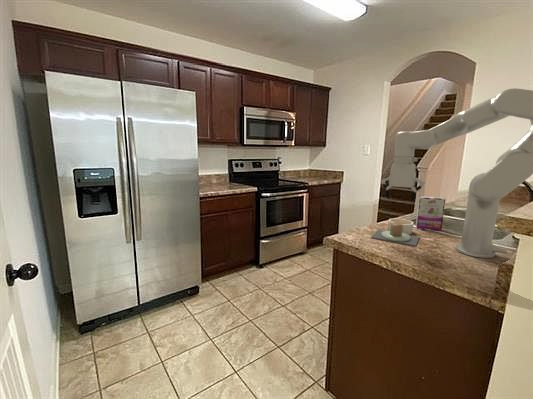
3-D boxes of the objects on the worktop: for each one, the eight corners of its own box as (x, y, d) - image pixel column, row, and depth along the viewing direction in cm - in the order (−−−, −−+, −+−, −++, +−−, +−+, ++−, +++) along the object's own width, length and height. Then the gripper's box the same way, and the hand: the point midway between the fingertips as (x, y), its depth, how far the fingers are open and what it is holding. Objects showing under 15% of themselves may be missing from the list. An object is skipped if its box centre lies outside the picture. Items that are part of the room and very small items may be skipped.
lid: (411, 236, 123) (413, 223, 122) (408, 243, 114) (409, 230, 113) (384, 231, 130) (385, 219, 129) (378, 238, 121) (379, 225, 119)
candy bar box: (439, 228, 137) (443, 197, 134) (441, 231, 132) (446, 198, 129) (414, 225, 141) (418, 195, 138) (416, 228, 137) (420, 197, 133)
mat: (419, 238, 122) (419, 236, 122) (415, 246, 112) (415, 245, 112) (377, 230, 132) (377, 229, 132) (371, 238, 122) (371, 236, 122)
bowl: (413, 230, 133) (414, 220, 132) (410, 236, 125) (411, 226, 124) (390, 226, 140) (391, 217, 138) (385, 231, 131) (386, 222, 130)
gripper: (427, 160, 113) (423, 200, 116) (384, 160, 123) (381, 196, 126) (426, 161, 107) (421, 203, 110) (380, 160, 117) (377, 199, 120)
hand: (400, 199), depth 118 cm, fingers open, 9 cm apart
